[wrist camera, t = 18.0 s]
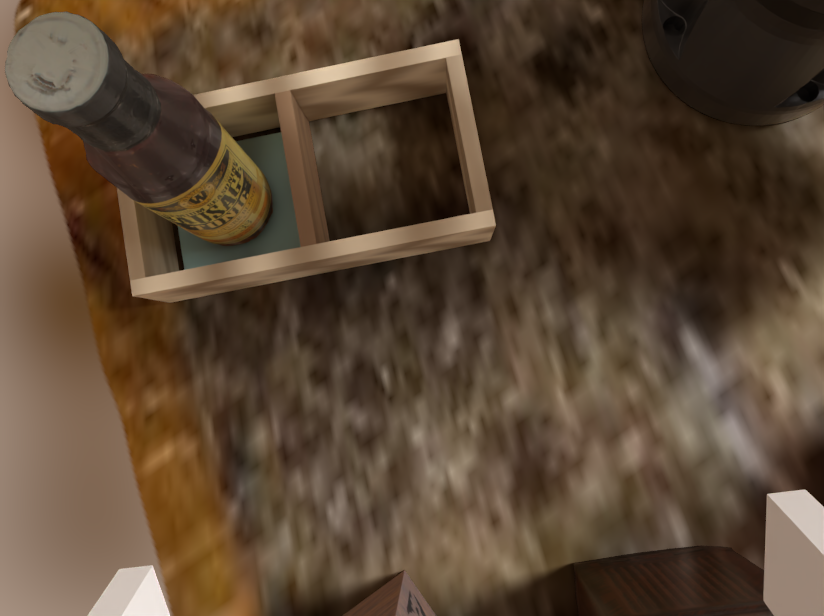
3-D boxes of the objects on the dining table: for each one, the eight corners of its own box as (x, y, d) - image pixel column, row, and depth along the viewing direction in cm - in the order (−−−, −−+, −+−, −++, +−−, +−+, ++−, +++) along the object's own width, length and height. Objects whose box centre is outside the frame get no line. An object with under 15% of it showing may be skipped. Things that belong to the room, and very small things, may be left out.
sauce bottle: (222, 266, 41) (13, 187, 21) (176, 195, 42) (-70, 54, 22) (299, 213, 41) (160, 84, 21) (251, 143, 42) (73, -46, 22)
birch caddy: (457, 76, 41) (458, 39, 36) (490, 240, 40) (495, 225, 35) (146, 141, 42) (105, 113, 37) (170, 302, 41) (132, 296, 36)
